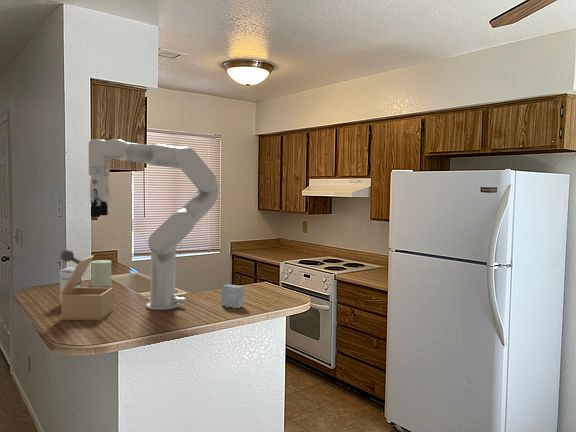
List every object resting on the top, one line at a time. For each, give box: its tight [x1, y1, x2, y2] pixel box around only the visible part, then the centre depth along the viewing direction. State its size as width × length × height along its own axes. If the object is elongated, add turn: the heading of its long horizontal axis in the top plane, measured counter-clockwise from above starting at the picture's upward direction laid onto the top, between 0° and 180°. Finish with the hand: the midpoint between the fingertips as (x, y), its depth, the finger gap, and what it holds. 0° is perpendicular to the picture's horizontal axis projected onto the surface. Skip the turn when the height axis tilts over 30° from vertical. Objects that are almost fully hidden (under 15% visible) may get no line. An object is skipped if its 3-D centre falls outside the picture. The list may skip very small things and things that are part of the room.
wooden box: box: [60, 286, 114, 321], centre depth 176 cm, size 14×13×9 cm
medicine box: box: [221, 283, 245, 309], centre depth 194 cm, size 8×4×9 cm, turn 65°
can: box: [90, 259, 113, 288], centre depth 228 cm, size 9×9×12 cm
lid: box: [59, 249, 95, 295], centre depth 175 cm, size 14×13×9 cm
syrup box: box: [59, 266, 82, 304], centre depth 191 cm, size 6×6×14 cm
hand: (99, 216), depth 185 cm, fingers open, 9 cm apart
